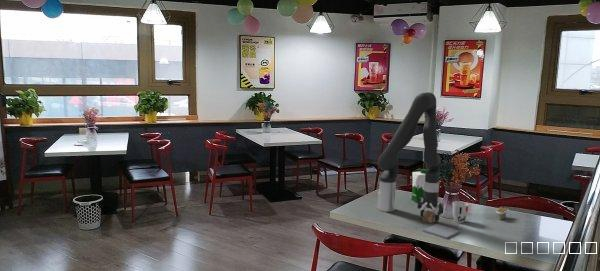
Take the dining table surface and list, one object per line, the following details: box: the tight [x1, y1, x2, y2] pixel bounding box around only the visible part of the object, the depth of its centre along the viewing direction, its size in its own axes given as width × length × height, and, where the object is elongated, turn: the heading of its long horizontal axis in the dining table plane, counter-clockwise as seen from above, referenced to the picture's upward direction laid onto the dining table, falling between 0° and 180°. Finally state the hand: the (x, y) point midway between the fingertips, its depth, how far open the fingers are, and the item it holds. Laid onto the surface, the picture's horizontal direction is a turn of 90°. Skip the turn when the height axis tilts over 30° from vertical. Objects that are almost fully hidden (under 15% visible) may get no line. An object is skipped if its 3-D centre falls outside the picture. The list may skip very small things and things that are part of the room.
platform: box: [495, 206, 509, 221], centre depth 241 cm, size 12×18×7 cm, turn 135°
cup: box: [452, 201, 470, 224], centre depth 235 cm, size 8×8×10 cm
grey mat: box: [422, 223, 461, 240], centre depth 219 cm, size 13×13×1 cm
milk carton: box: [411, 168, 427, 204], centre depth 270 cm, size 9×9×20 cm
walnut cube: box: [422, 209, 436, 224], centre depth 235 cm, size 5×5×5 cm
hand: (429, 218), depth 235 cm, fingers open, 8 cm apart
